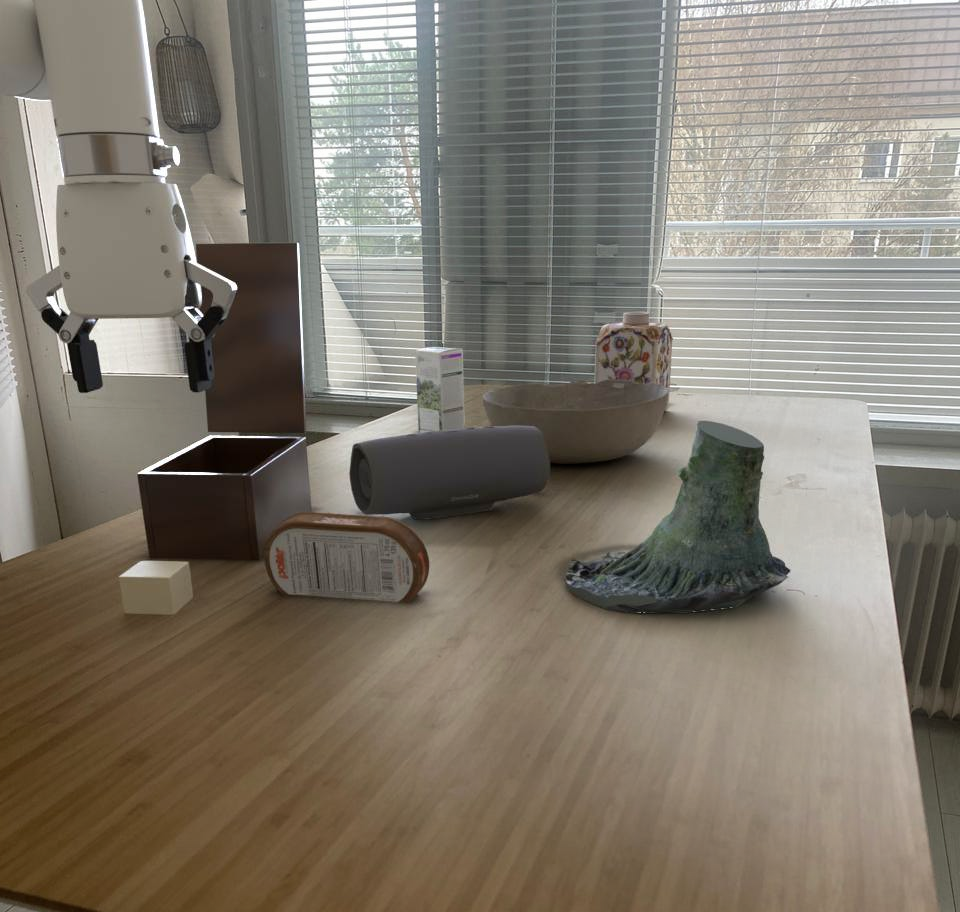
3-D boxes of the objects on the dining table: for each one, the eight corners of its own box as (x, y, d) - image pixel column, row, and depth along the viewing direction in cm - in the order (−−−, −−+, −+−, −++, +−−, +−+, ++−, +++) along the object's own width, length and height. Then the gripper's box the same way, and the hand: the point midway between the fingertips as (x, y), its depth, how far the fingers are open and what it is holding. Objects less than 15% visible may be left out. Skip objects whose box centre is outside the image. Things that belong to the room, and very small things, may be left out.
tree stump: (601, 550, 105) (652, 386, 97) (779, 620, 99) (849, 451, 91) (532, 593, 90) (586, 403, 82) (737, 681, 83) (817, 483, 75)
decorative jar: (669, 410, 186) (676, 310, 179) (654, 420, 176) (660, 315, 169) (609, 406, 190) (613, 309, 183) (590, 416, 180) (594, 314, 173)
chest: (260, 571, 98) (250, 475, 95) (150, 568, 100) (136, 473, 96) (312, 519, 116) (306, 436, 113) (218, 517, 118) (209, 435, 114)
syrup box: (466, 438, 162) (464, 347, 156) (441, 443, 158) (439, 350, 152) (441, 434, 165) (439, 345, 160) (416, 439, 161) (413, 348, 156)
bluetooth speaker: (516, 493, 127) (517, 415, 123) (551, 509, 119) (553, 427, 115) (350, 514, 118) (344, 431, 114) (376, 534, 110) (371, 445, 106)
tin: (431, 605, 89) (429, 515, 85) (422, 618, 86) (418, 525, 82) (278, 594, 92) (269, 507, 88) (264, 606, 89) (254, 516, 86)
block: (126, 625, 85) (118, 576, 83) (147, 607, 89) (140, 560, 87) (175, 626, 84) (168, 577, 83) (195, 608, 89) (189, 561, 87)
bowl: (687, 446, 154) (691, 381, 150) (628, 483, 131) (632, 408, 127) (529, 433, 165) (529, 372, 162) (450, 465, 143) (448, 396, 139)
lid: (297, 242, 107) (310, 248, 112) (195, 243, 108) (212, 249, 113) (304, 433, 112) (317, 431, 117) (207, 432, 113) (223, 430, 118)
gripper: (237, 165, 78) (259, 383, 85) (32, 171, 80) (70, 384, 86) (203, 158, 71) (230, 396, 78) (-20, 164, 73) (25, 397, 79)
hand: (145, 390), depth 82 cm, fingers open, 9 cm apart
